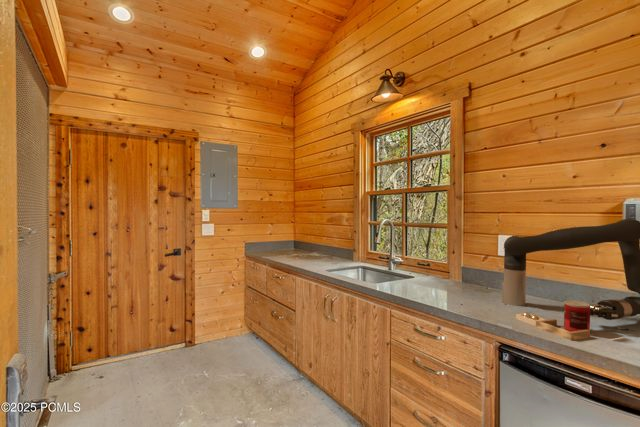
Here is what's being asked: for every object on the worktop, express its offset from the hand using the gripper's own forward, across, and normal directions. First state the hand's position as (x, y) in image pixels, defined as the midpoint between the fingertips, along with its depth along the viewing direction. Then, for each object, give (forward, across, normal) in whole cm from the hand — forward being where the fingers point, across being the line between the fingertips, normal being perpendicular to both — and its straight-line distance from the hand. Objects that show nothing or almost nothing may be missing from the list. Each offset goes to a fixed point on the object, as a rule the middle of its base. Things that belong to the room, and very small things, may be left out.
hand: (583, 312), depth 127 cm
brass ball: (+11, -11, +6) cm, 17 cm away
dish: (+11, -12, +7) cm, 18 cm away
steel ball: (+11, -14, +6) cm, 19 cm away
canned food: (+4, 0, +7) cm, 8 cm away
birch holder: (+10, 0, +7) cm, 12 cm away
